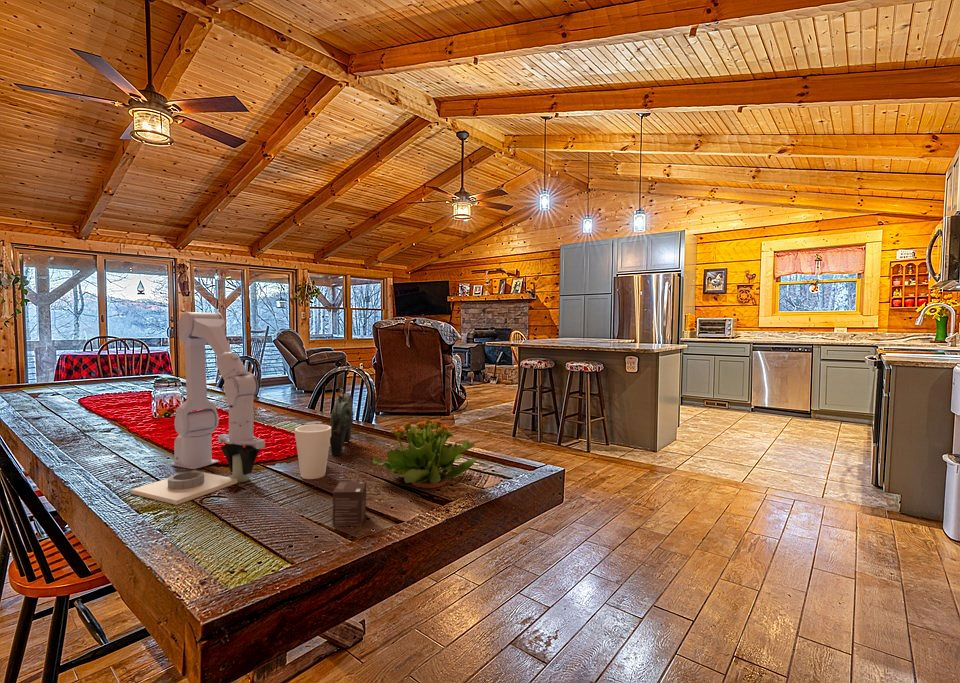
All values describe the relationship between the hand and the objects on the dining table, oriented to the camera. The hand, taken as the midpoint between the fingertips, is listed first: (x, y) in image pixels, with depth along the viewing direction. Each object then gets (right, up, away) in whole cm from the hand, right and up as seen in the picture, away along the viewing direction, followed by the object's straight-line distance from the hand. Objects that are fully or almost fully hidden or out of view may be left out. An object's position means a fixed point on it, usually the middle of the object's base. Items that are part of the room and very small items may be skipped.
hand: (241, 472), depth 122 cm
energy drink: (+13, -2, +16) cm, 21 cm away
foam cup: (+17, -2, +5) cm, 18 cm away
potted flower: (+50, -3, +1) cm, 50 cm away
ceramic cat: (+17, -1, +33) cm, 37 cm away
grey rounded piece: (0, -2, 0) cm, 2 cm away
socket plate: (-10, -2, -7) cm, 12 cm away
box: (+35, -4, -23) cm, 42 cm away
